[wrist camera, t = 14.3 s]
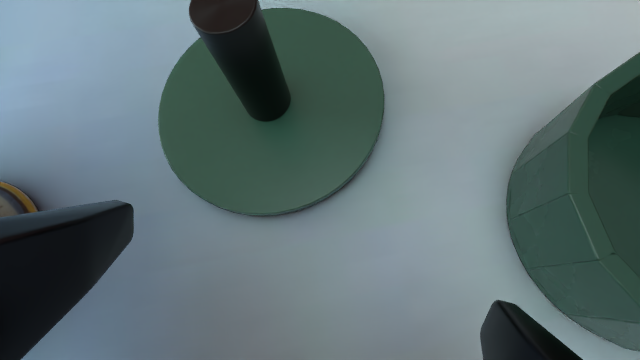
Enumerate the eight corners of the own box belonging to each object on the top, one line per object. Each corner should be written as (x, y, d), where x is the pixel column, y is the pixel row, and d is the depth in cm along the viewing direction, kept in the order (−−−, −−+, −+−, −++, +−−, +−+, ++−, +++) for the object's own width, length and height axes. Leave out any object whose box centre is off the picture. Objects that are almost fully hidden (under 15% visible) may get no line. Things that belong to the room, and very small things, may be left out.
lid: (388, 216, 18) (412, 163, 10) (153, 219, 19) (18, 174, 12) (377, 13, 22) (389, -136, 14) (181, 27, 23) (93, -103, 15)
